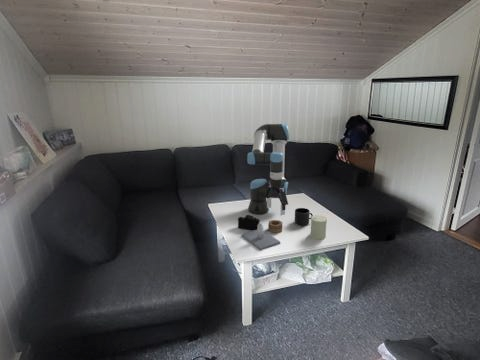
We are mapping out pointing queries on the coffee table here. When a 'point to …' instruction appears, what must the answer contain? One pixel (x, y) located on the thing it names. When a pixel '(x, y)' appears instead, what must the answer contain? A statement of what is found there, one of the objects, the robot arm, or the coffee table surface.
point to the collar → (275, 226)
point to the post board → (262, 241)
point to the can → (318, 227)
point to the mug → (302, 216)
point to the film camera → (248, 222)
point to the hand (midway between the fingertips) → (275, 211)
